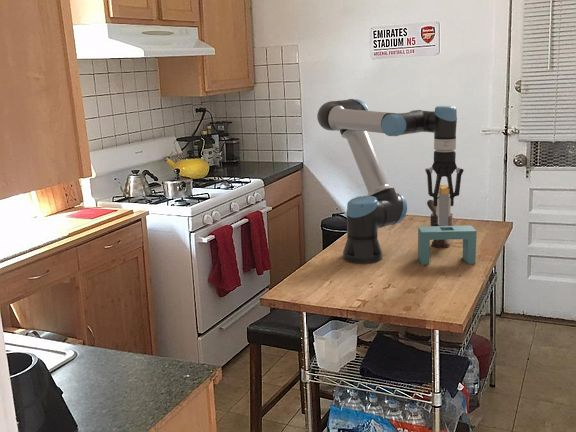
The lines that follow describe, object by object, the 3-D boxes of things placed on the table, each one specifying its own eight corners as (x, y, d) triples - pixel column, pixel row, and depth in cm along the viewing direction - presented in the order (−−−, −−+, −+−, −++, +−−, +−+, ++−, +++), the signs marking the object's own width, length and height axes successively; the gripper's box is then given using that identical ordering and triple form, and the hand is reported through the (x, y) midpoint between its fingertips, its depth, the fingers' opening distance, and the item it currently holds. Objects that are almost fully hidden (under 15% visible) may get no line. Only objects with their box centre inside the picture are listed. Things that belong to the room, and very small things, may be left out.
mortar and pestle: (443, 251, 262) (444, 202, 257) (423, 248, 267) (424, 200, 262) (454, 244, 271) (456, 196, 266) (435, 241, 276) (436, 194, 271)
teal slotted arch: (421, 264, 247) (421, 232, 244) (417, 258, 255) (418, 226, 252) (475, 263, 246) (476, 231, 243) (470, 257, 254) (471, 225, 251)
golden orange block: (439, 227, 237) (440, 188, 234) (436, 222, 244) (437, 184, 240) (448, 226, 237) (450, 188, 234) (445, 222, 244) (446, 184, 240)
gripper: (422, 152, 231) (421, 217, 237) (470, 151, 230) (468, 217, 235) (420, 149, 238) (419, 212, 244) (466, 148, 237) (464, 212, 243)
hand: (443, 214), depth 240 cm, fingers closed on golden orange block, 3 cm apart
